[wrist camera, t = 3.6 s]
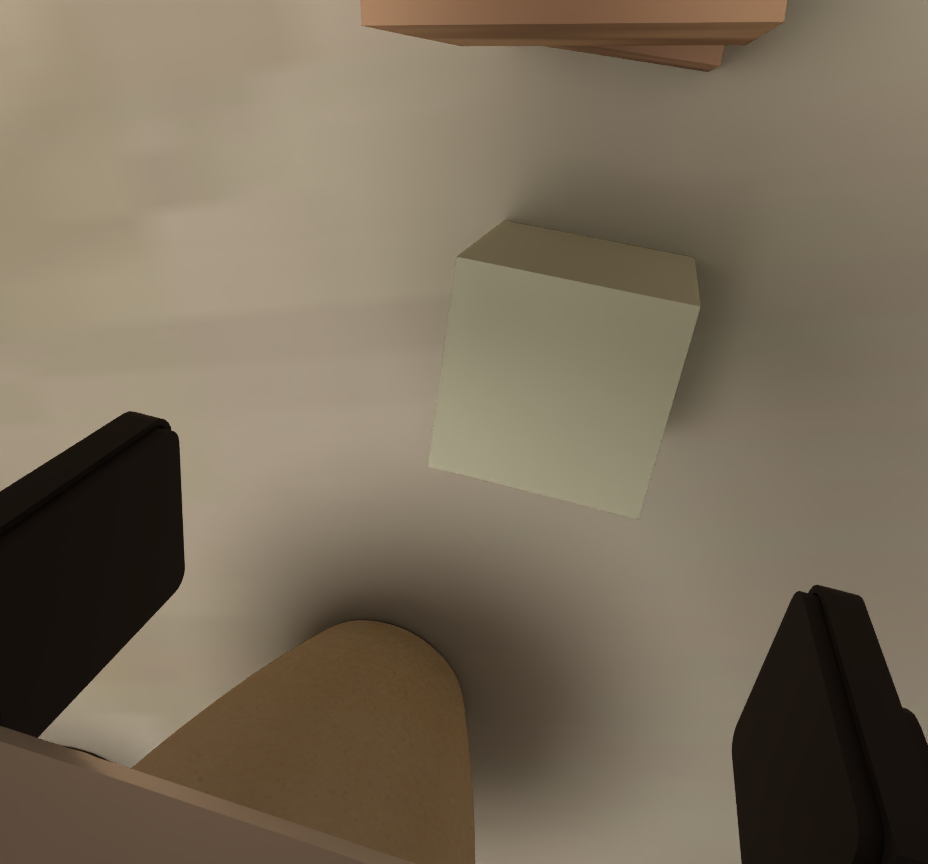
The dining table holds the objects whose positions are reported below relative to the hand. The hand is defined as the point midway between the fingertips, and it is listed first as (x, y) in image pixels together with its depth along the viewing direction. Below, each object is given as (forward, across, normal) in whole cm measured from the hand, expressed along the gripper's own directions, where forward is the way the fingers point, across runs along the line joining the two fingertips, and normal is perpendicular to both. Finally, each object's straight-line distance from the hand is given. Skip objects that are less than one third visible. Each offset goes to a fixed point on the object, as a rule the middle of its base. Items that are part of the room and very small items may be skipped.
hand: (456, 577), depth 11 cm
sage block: (+15, 0, +1) cm, 15 cm away
